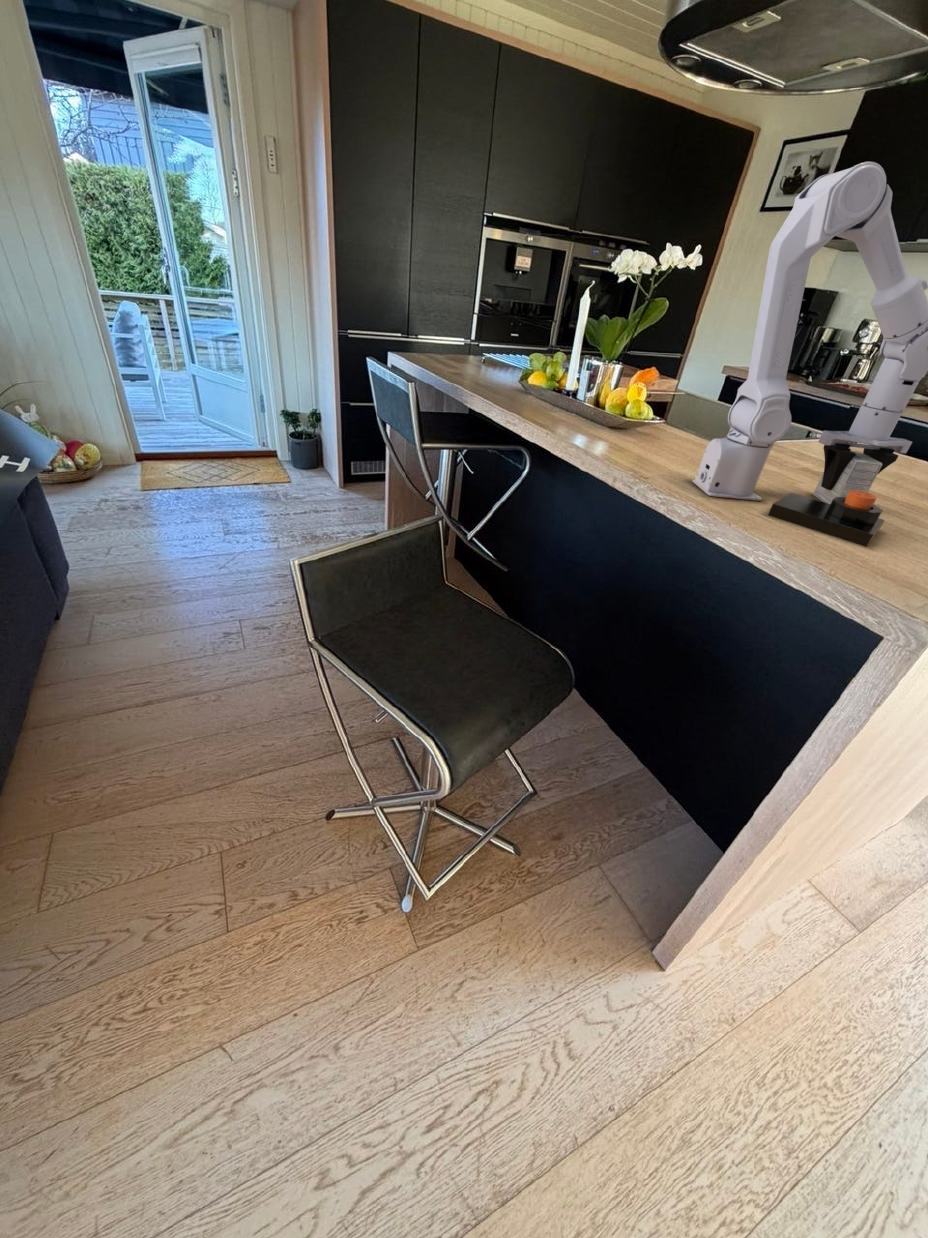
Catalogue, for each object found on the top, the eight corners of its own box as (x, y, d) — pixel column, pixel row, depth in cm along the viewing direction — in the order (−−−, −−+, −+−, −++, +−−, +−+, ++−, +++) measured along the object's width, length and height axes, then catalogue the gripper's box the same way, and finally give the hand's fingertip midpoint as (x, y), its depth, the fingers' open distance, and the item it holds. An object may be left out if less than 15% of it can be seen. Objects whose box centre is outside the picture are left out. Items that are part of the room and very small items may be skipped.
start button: (867, 513, 78) (874, 500, 77) (840, 505, 80) (847, 492, 79) (871, 508, 80) (878, 495, 79) (845, 501, 82) (852, 488, 81)
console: (866, 547, 76) (880, 521, 74) (767, 515, 84) (778, 491, 81) (878, 531, 82) (892, 507, 80) (785, 503, 90) (795, 480, 88)
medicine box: (857, 513, 89) (884, 463, 85) (830, 509, 90) (856, 459, 85) (836, 498, 96) (860, 451, 91) (811, 494, 96) (834, 447, 92)
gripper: (856, 408, 80) (814, 493, 88) (943, 418, 81) (895, 501, 89) (828, 399, 86) (791, 479, 94) (909, 408, 87) (867, 487, 95)
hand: (840, 489), depth 91 cm, fingers closed on medicine box, 5 cm apart
